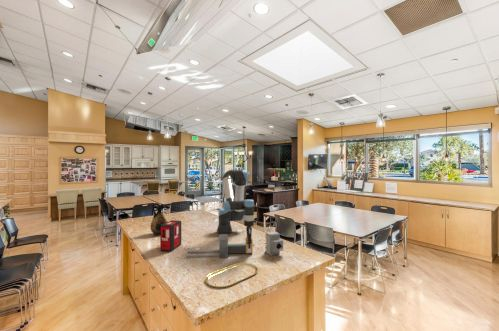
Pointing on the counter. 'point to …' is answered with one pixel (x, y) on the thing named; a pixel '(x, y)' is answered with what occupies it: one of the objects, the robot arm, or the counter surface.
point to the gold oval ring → (230, 268)
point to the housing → (222, 250)
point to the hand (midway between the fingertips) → (248, 250)
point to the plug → (240, 247)
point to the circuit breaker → (273, 243)
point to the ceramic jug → (157, 219)
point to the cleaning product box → (170, 236)
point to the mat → (237, 244)
